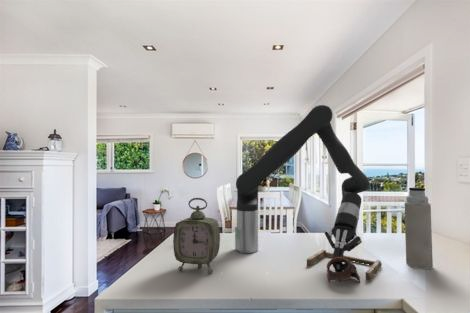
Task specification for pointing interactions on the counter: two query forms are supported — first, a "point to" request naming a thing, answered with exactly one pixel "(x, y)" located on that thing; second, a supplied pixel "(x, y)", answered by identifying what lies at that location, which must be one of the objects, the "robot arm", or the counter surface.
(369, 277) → the walnut mug dock
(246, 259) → the counter surface
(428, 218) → the thermos bottle
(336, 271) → the pottery mug
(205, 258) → the tabletop clock
